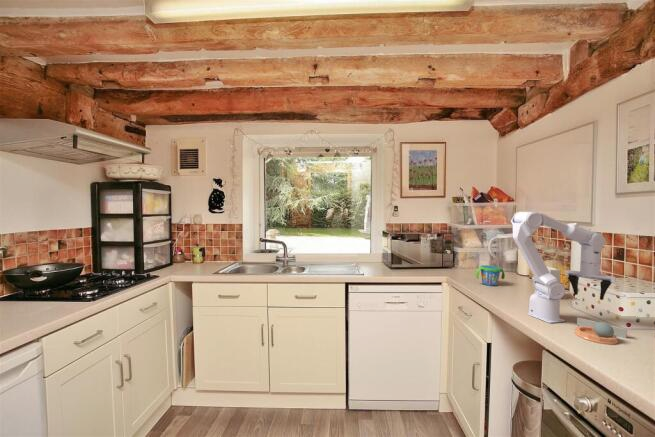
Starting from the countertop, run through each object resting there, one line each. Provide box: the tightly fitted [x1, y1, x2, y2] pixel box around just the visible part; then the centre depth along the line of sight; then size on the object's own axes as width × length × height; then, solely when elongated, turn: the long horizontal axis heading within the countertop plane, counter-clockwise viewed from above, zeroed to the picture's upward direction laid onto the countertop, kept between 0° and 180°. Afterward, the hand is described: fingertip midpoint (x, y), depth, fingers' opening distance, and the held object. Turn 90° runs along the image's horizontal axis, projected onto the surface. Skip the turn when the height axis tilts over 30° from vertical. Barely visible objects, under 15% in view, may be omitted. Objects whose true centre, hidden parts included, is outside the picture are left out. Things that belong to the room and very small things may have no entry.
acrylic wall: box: [576, 317, 628, 339], centre depth 105 cm, size 13×1×3 cm, turn 37°
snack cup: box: [475, 264, 506, 287], centre depth 167 cm, size 16×10×10 cm
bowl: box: [573, 326, 619, 345], centre depth 100 cm, size 11×11×2 cm
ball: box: [594, 321, 614, 338], centre depth 98 cm, size 5×5×5 cm
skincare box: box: [534, 265, 562, 293], centre depth 144 cm, size 8×6×15 cm
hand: (588, 296), depth 114 cm, fingers open, 7 cm apart
